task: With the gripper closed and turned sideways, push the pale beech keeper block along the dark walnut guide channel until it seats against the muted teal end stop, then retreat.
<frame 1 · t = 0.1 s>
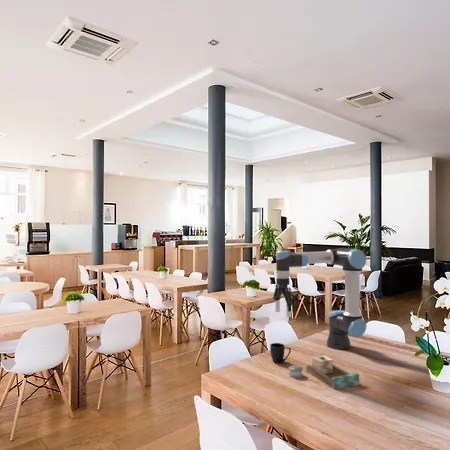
hand: (283, 314, 212), 28 cm above the table, fingers open, 13 cm apart
spool: (295, 375, 193), on the table
mug: (280, 362, 213), on the table
keeper: (322, 364, 198), point 4 cm above the table, slide at 0.0 cm
channel: (330, 376, 191), on the table
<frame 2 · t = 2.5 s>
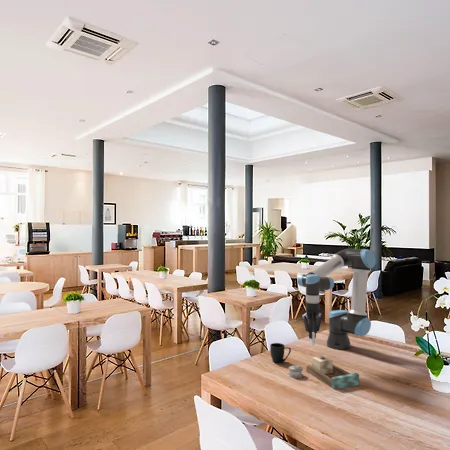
hand: (312, 344, 206), 12 cm above the table, fingers closed
nothing on the table moved.
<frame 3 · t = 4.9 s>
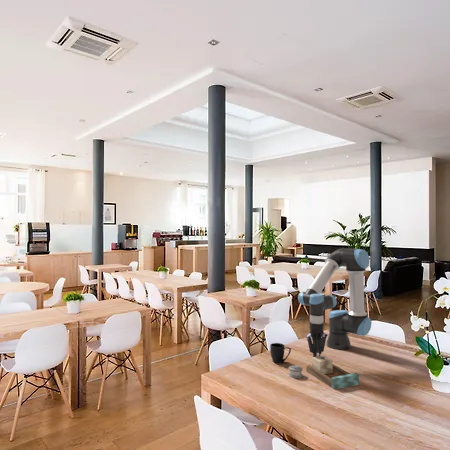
hand: (316, 364, 202), 2 cm above the table, fingers closed
keeper: (322, 364, 198), point 4 cm above the table, slide at 0.0 cm, touching gripper
everything else where it was.
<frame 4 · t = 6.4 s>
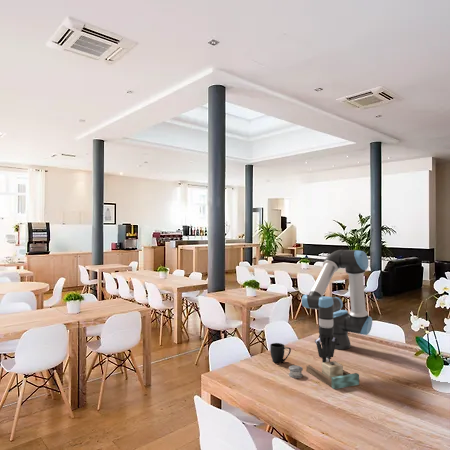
hand: (326, 370, 194), 2 cm above the table, fingers closed
keeper: (332, 370, 190), point 4 cm above the table, slide at 8.6 cm, touching gripper
everything else where it was.
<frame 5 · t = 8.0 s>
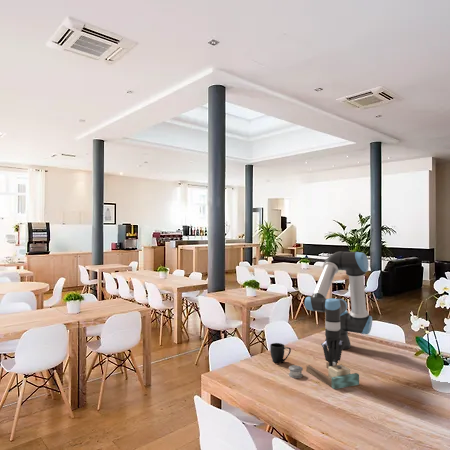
hand: (332, 374, 189), 2 cm above the table, fingers closed
keeper: (339, 374, 184), point 4 cm above the table, slide at 14.2 cm, touching gripper
everything else where it was.
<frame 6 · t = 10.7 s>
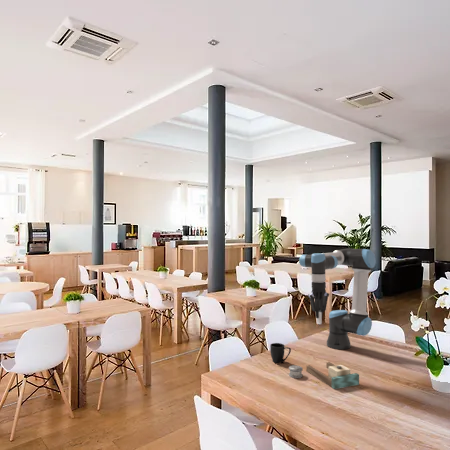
hand: (319, 323, 203), 25 cm above the table, fingers closed
keeper: (339, 374, 184), point 4 cm above the table, slide at 14.3 cm
everything else where it was.
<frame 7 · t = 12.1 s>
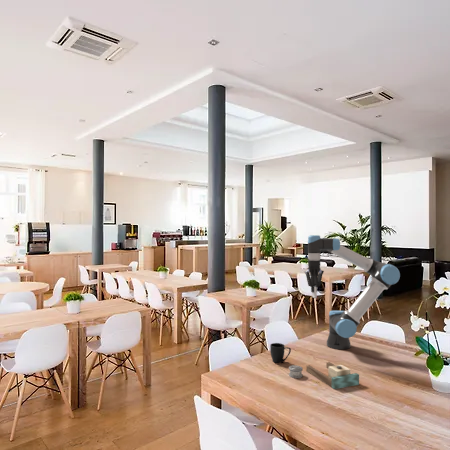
hand: (314, 297, 229), 34 cm above the table, fingers closed
nothing on the table moved.
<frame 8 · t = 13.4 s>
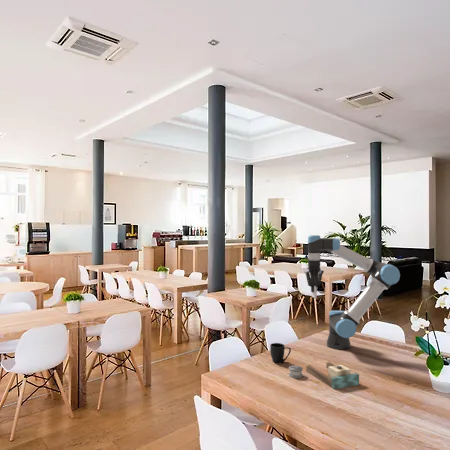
hand: (314, 297, 229), 34 cm above the table, fingers closed
nothing on the table moved.
at the end: keeper slide at 14.3 cm; keeper inside the target area (0.5 cm from its centre), resting on channel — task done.
